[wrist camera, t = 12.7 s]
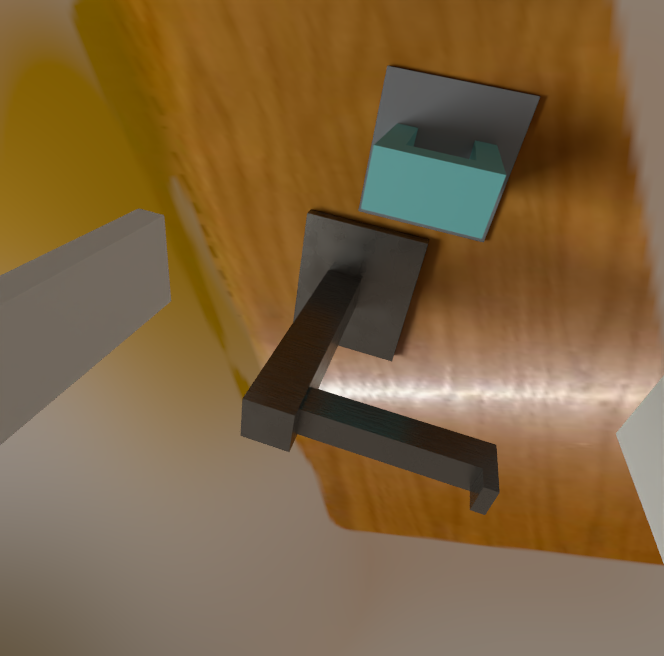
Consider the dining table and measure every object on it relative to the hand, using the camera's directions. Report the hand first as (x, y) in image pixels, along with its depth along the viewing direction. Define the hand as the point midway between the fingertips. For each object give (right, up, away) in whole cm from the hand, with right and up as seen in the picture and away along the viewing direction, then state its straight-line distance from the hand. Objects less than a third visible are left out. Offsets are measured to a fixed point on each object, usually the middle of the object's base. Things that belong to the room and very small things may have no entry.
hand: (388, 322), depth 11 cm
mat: (+6, +12, +20) cm, 24 cm away
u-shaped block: (+6, +12, +19) cm, 23 cm away
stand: (+4, +3, +26) cm, 27 cm away
